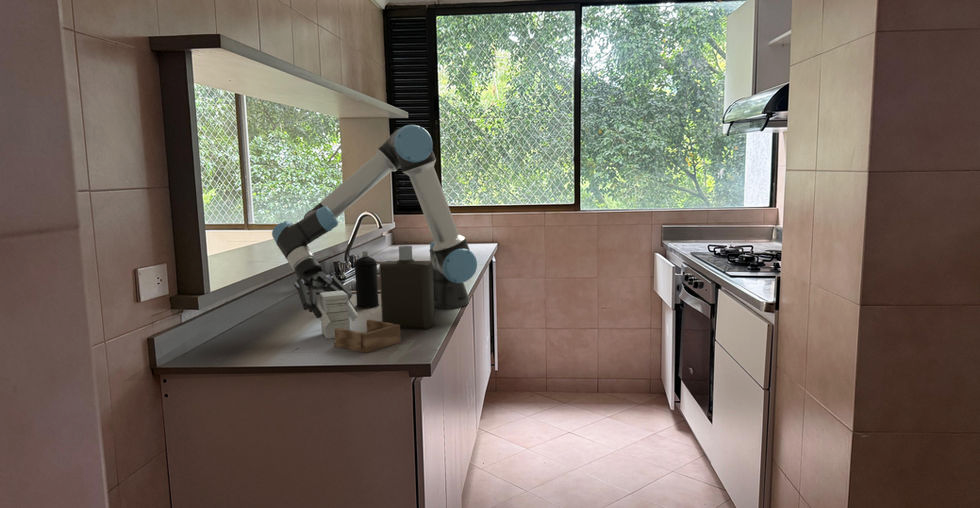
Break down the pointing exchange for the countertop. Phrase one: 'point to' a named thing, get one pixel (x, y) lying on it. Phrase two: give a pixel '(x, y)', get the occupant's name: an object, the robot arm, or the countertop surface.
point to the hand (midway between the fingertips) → (342, 321)
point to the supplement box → (335, 311)
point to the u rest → (368, 337)
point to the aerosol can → (366, 282)
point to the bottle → (407, 291)
